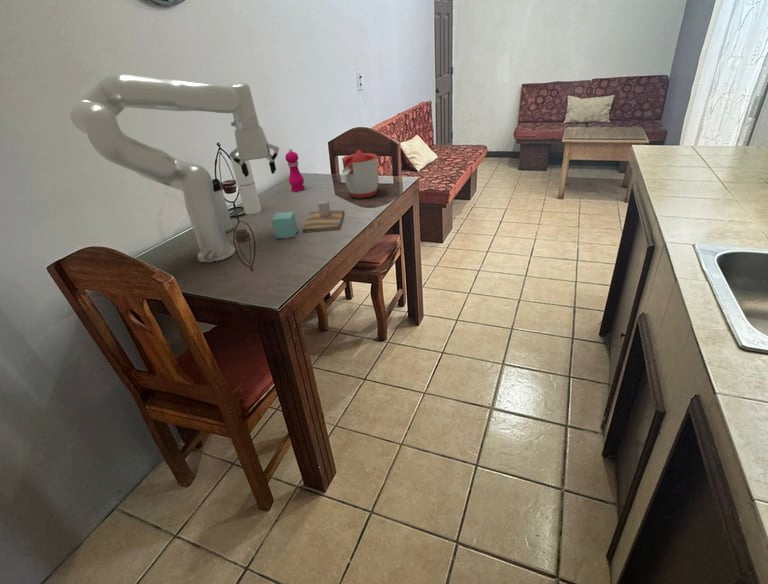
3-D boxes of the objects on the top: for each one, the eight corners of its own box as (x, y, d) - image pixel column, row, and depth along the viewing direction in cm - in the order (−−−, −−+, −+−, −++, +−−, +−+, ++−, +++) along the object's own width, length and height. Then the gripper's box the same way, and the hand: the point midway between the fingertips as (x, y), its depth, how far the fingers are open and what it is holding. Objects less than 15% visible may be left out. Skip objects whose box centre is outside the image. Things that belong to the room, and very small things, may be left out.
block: (329, 216, 167) (327, 203, 165) (320, 217, 168) (318, 203, 165) (330, 213, 171) (328, 200, 168) (321, 213, 171) (319, 200, 168)
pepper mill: (288, 192, 206) (279, 150, 196) (295, 187, 212) (287, 147, 202) (301, 192, 204) (293, 150, 194) (307, 187, 210) (300, 146, 200)
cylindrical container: (256, 214, 182) (241, 155, 169) (242, 214, 184) (226, 156, 171) (264, 208, 188) (250, 151, 175) (249, 208, 190) (234, 151, 177)
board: (339, 229, 158) (339, 226, 158) (303, 232, 159) (302, 228, 158) (344, 213, 174) (343, 209, 173) (311, 215, 175) (310, 212, 174)
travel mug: (237, 227, 170) (223, 178, 160) (227, 234, 165) (212, 183, 154) (224, 227, 172) (209, 178, 161) (214, 233, 166) (198, 183, 156)
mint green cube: (294, 237, 156) (289, 218, 152) (276, 238, 156) (271, 219, 152) (297, 230, 161) (293, 211, 158) (280, 231, 162) (276, 213, 158)
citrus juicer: (336, 197, 192) (330, 153, 182) (364, 187, 202) (359, 144, 192) (359, 203, 182) (354, 156, 172) (387, 192, 192) (383, 147, 182)
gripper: (218, 129, 139) (233, 180, 148) (270, 123, 138) (282, 174, 147) (225, 124, 145) (239, 173, 154) (274, 119, 145) (285, 168, 154)
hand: (260, 174), depth 151 cm, fingers open, 9 cm apart
